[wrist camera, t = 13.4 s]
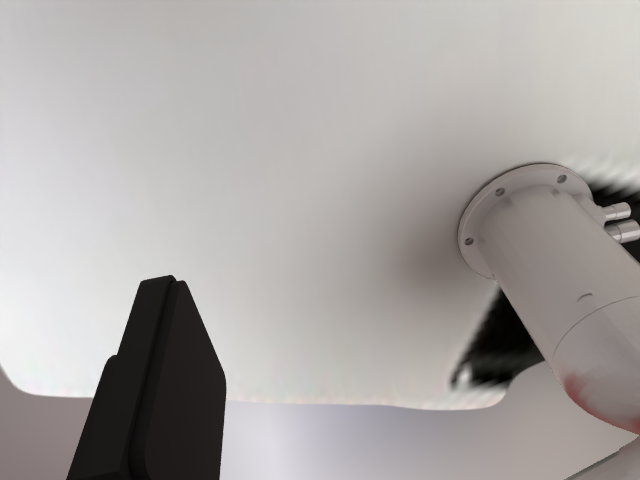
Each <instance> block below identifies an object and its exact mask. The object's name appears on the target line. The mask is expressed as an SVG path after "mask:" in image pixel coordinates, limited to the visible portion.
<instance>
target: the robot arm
mask: <svg viewBox="0 0 640 480" xmlns="http://www.w3.org/2000/svg"><path fill="white" fill-rule="evenodd" d="M630 212H631V210H630V207H629V205H628V204H627V203H625V202H624V203H619V204H614V205H610V206H608V207H604V208H602V207H601V206H597V205H595V204H594V200H593V197H592V193H591V191H590V189H589V187H588V186H587V184H586V183H585V182H584V181H583V180H582V179H581V178H580V177H579V176H578V175H577V174H575V173H574V172H572V171H571V170H569V169H567V168H564V167H562V166H558V165H552V164H534V165H529V166H525V167H520V168H518V169H515V170H512V171H510V172H507V173H505V174H504V175H502V176H500V177H498V178H496V179H495V180H493V181H492V182H491V183H489V184H488V185H487V186H485V187H484V188H483V189H482V190H481V191H480V192H479V193H478V194H477V195H476V196H475V197H474V198H473V200H472V201H471V202H470V204H469V205H468V207H467V208H466V210H465V212H464V214H463V216H462V218H461V221H460V225H459V229H458V244H459V249H460V251H461V253H462V255H463V257H464V259H465V261H466V262H467V264H468V265H469V267H471V268H472V269H473V270H474V271H475V272H476V273H478V274H480V275H482V276H484V277H487V278H490V279H494V280H497V282H498V283H499V285H500V287H501V288H502V290H503V291H504V293H505V295H506V296H507V298H508V300H509V301H510V303H511V305H512V306H513V308H514V309H515V311H516V313H517V314H518V316H519V318H520V319H521V321H522V323H523V324H524V326H525V328H526V329H527V331H528V332H529V334H530V336H531V337H532V339H533V341H534V342H535V344H536V346H537V347H538V349H539V350H540V352H541V354H542V355H543V357H544V359H545V360H546V362H547V364H548V365H549V367H550V369H551V370H552V372H553V373H554V375H555V377H556V378H557V380H558V381H559V383H560V385H561V386H562V388H563V389H564V391H565V392H566V393H567V395H568V396H569V397H570V398H571V399H572V400H573V401H574V402H575V403H576V404H577V405H578V406H579V407H581V408H582V409H583V410H585V411H586V412H587V413H589V414H591V415H593V416H594V417H596V418H598V419H600V420H602V421H604V422H606V423H609V424H611V425H613V426H616V427H619V428H621V429H624V430H627V431H630V432H632V433H635V434H638V435H639V436H638V437H637V438H636V439H635V440H633V441H632V442H630V443H628V444H627V445H625V446H623V447H621V448H620V449H619V451H617V452H615V453H613V454H612V455H610V456H608V457H606V458H604V459H602V460H600V461H598V462H597V463H594V464H593V465H591V466H589V467H587V468H585V469H583V470H581V471H579V472H578V473H576V474H574V475H572V476H570V477H568V478H566V479H564V480H640V264H639V263H638V262H637V261H636V260H635V259H634V258H633V257H632V256H631V255H630V254H629V253H628V252H627V251H626V250H625V249H624V248H623V247H622V246H621V245H620V244H619V243H624V242H629V241H633V240H637V239H639V237H640V228H639V225H638V224H637V222H636V221H635V220H633V219H632V220H627V221H623V222H618V223H613V224H611V225H608V226H604V223H605V221H609V220H617V219H622V218H626V217H629V216H630ZM225 401H226V379H225V374H224V371H223V369H222V366H221V364H220V362H219V359H218V357H217V355H216V352H215V350H214V347H213V345H212V343H211V340H210V338H209V336H208V333H207V331H206V328H205V326H204V324H203V321H202V319H201V316H200V314H199V312H198V309H197V307H196V305H195V302H194V300H193V297H192V295H191V293H190V290H189V288H188V286H187V284H186V282H185V281H183V280H182V281H176V279H175V278H174V276H172V275H168V276H163V277H158V278H152V279H147V280H143V281H141V283H140V285H139V288H138V291H137V294H136V297H135V300H134V303H133V306H132V309H131V313H130V316H129V319H128V322H127V325H126V328H125V331H124V334H123V338H122V341H121V344H120V347H119V350H118V353H117V355H113V356H111V357H110V358H109V359H108V360H107V362H106V364H105V366H104V369H103V372H102V375H101V378H100V381H99V384H98V387H97V390H96V393H95V396H94V399H93V402H92V405H91V408H90V411H89V414H88V417H87V420H86V423H85V425H84V429H83V431H82V434H81V437H80V440H79V443H78V446H77V449H76V452H75V455H74V458H73V461H72V464H71V467H70V470H69V473H68V476H67V479H66V480H219V478H220V466H221V452H222V439H223V426H224V414H225V413H224V412H225Z"/></svg>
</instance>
